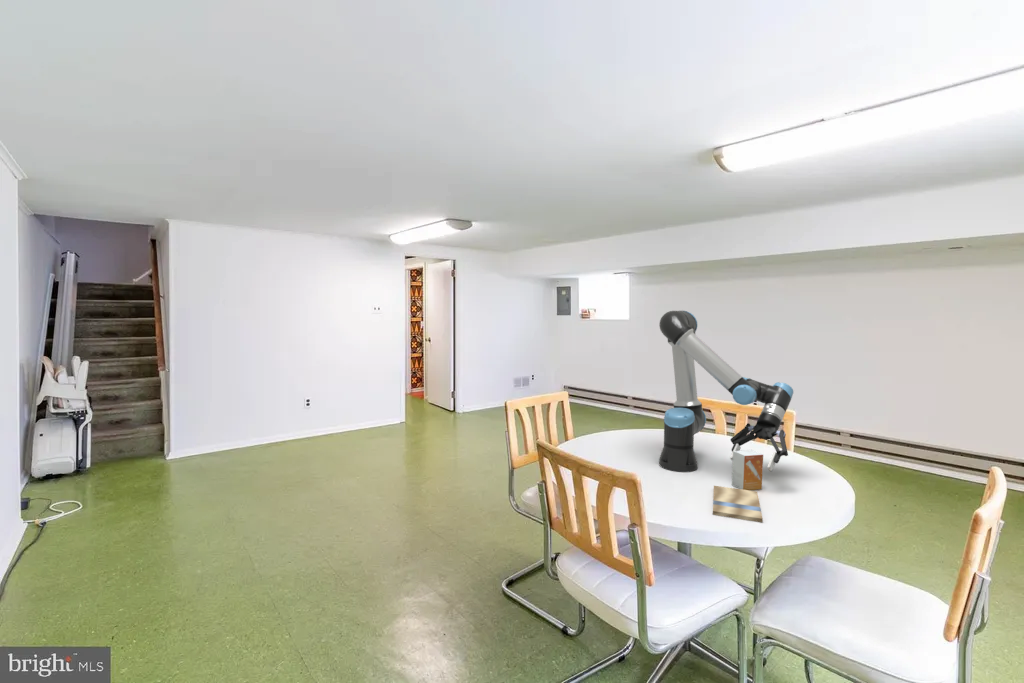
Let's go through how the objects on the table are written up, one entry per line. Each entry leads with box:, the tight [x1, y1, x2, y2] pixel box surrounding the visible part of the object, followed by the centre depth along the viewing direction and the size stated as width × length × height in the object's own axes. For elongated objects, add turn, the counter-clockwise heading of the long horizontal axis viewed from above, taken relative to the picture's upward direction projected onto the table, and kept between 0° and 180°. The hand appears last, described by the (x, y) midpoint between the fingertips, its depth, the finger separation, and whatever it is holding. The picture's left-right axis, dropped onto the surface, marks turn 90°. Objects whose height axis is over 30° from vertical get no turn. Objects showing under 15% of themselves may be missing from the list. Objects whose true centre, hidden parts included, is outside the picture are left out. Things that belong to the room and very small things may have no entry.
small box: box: [731, 449, 764, 491], centre depth 174 cm, size 8×6×13 cm
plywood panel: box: [712, 485, 764, 523], centre depth 159 cm, size 14×24×1 cm, turn 156°
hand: (750, 464), depth 174 cm, fingers open, 13 cm apart
